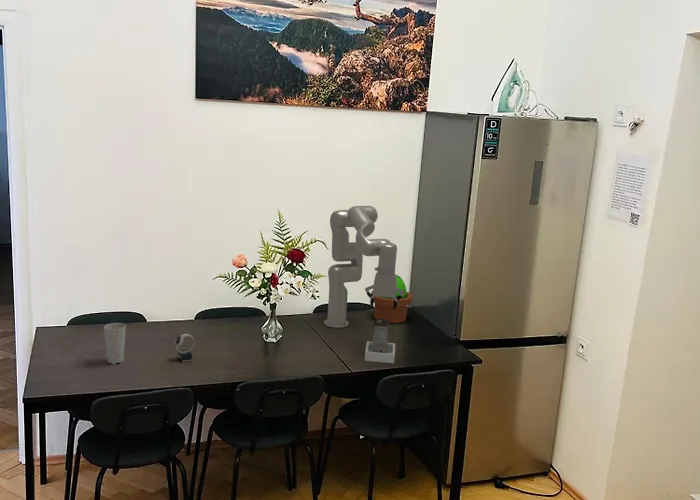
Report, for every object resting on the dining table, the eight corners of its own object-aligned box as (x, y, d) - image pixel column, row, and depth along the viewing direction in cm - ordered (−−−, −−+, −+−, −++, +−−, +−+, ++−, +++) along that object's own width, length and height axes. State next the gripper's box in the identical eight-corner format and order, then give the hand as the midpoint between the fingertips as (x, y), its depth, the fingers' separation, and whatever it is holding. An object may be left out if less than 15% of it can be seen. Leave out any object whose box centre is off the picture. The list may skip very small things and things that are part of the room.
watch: (173, 358, 262) (173, 333, 259) (192, 355, 266) (192, 331, 263) (176, 363, 257) (176, 338, 255) (195, 360, 261) (196, 335, 259)
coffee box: (373, 350, 283) (376, 317, 280) (387, 352, 282) (390, 319, 279) (371, 358, 274) (373, 323, 271) (385, 360, 273) (388, 325, 270)
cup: (114, 367, 249) (113, 331, 245) (99, 362, 253) (99, 326, 249) (131, 361, 256) (130, 325, 253) (116, 356, 260) (116, 321, 257)
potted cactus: (370, 323, 321) (373, 277, 316) (368, 310, 343) (371, 267, 337) (412, 326, 322) (416, 279, 316) (407, 313, 343) (411, 269, 338)
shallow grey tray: (366, 349, 285) (367, 341, 285) (394, 351, 285) (395, 343, 284) (364, 360, 272) (365, 352, 271) (394, 363, 271) (394, 354, 270)
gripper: (366, 271, 267) (363, 308, 271) (406, 275, 266) (402, 312, 270) (367, 267, 274) (364, 303, 278) (406, 270, 273) (402, 307, 277)
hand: (383, 308), depth 274 cm, fingers open, 9 cm apart
